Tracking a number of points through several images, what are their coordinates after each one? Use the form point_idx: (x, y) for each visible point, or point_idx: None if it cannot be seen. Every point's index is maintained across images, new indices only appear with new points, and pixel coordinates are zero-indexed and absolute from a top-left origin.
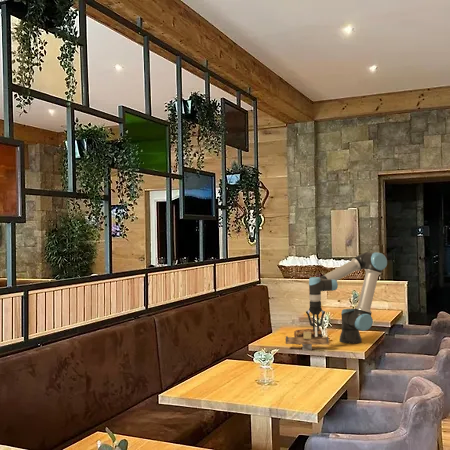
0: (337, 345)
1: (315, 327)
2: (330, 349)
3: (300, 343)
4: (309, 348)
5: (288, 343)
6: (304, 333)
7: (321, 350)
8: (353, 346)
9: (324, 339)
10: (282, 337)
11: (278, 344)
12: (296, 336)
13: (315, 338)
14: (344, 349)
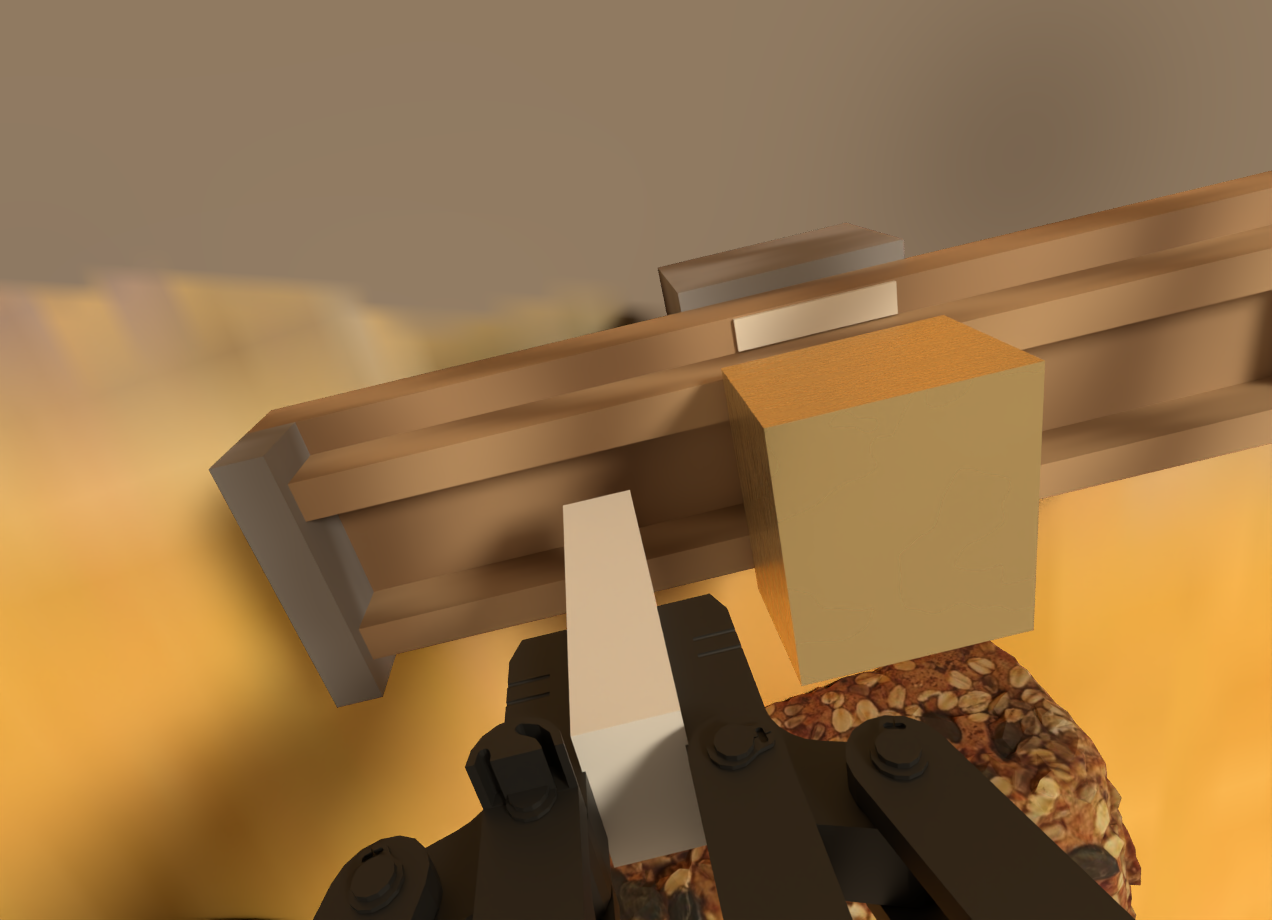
0: (332, 778)
1: (644, 697)
2: None
3: (959, 251)
4: (711, 265)
5: (1253, 178)
6: (1003, 369)
7: (469, 346)
8: (54, 800)
9: (350, 469)
10: (1166, 916)
11: (1269, 556)
12: (1070, 730)
13: None
14: (79, 564)
